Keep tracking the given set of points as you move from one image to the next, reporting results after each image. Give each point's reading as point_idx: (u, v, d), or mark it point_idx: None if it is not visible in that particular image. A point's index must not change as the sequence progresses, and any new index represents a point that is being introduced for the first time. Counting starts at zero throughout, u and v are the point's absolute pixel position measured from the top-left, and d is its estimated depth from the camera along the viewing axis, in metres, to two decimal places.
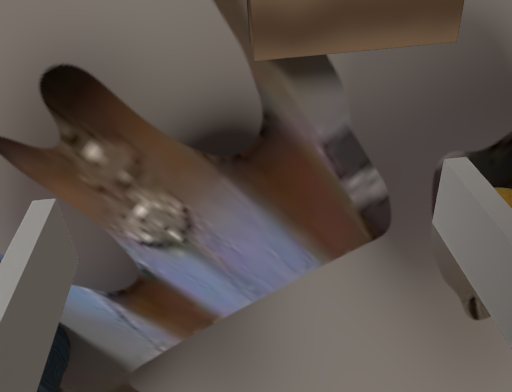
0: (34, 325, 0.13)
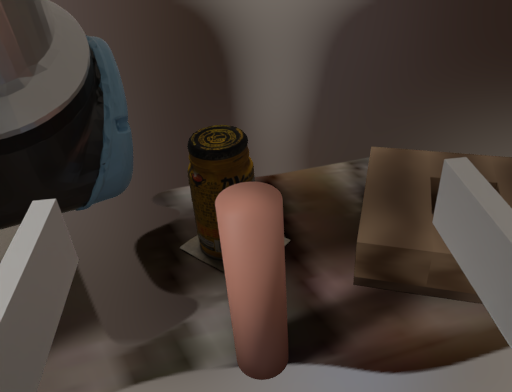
0: (34, 325, 0.13)
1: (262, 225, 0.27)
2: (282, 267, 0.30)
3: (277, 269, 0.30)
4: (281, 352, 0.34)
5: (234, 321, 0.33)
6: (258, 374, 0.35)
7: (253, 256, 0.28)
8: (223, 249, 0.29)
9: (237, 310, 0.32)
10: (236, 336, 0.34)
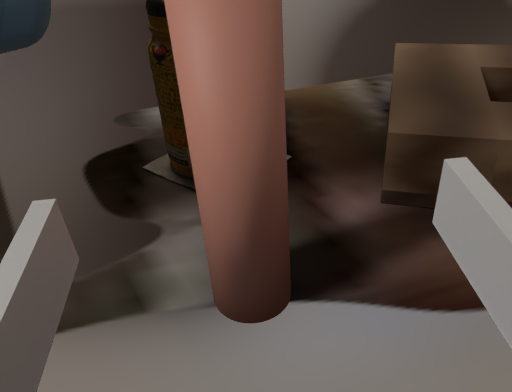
0: (34, 325, 0.13)
1: (244, 8, 0.15)
2: (281, 118, 0.18)
3: (273, 117, 0.17)
4: (280, 278, 0.22)
5: (205, 223, 0.21)
6: (244, 315, 0.23)
7: (229, 77, 0.16)
8: (179, 78, 0.17)
9: (208, 199, 0.19)
10: (209, 251, 0.22)
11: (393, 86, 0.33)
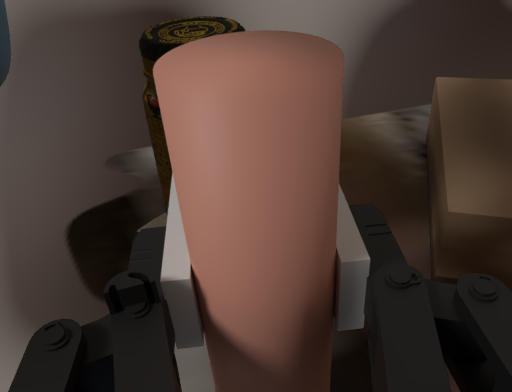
0: None
1: (289, 115, 0.09)
2: (332, 250, 0.12)
3: (322, 255, 0.12)
4: None
5: (216, 375, 0.15)
6: None
7: (261, 214, 0.10)
8: (181, 201, 0.11)
9: (221, 354, 0.13)
10: None
11: (443, 139, 0.27)
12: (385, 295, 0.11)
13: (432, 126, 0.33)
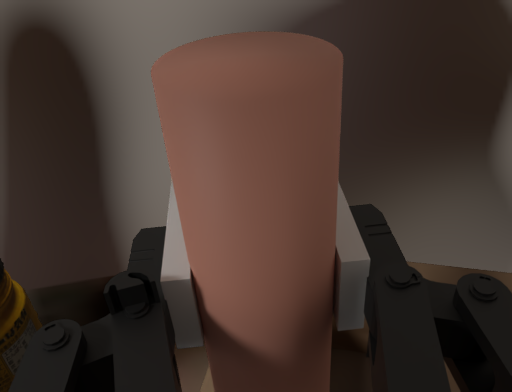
0: None
1: (287, 116, 0.09)
2: (332, 252, 0.12)
3: (322, 257, 0.11)
4: None
5: (215, 377, 0.15)
6: None
7: (260, 216, 0.10)
8: (180, 203, 0.11)
9: (220, 356, 0.13)
10: None
11: None
12: (384, 295, 0.11)
13: None
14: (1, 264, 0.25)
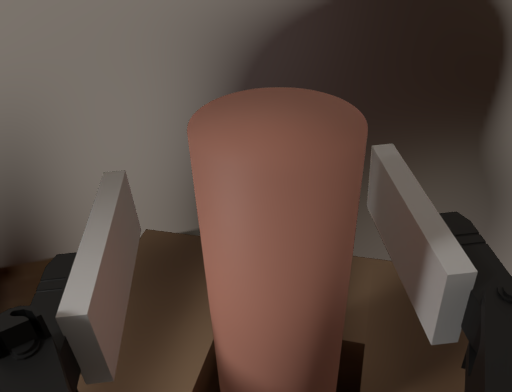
0: (117, 282, 0.14)
1: (318, 186, 0.09)
2: (346, 296, 0.13)
3: (337, 302, 0.12)
4: None
5: None
6: None
7: (285, 270, 0.11)
8: (206, 250, 0.12)
9: (235, 387, 0.14)
10: None
11: None
12: (494, 306, 0.11)
13: None
14: None
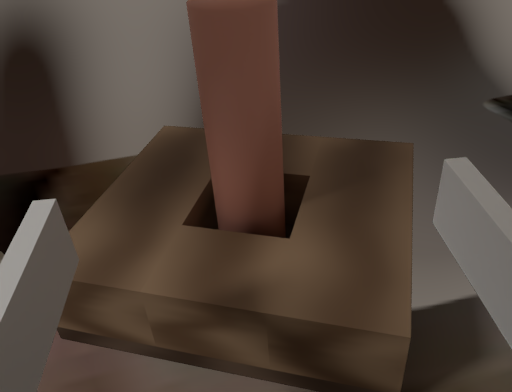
0: (34, 325, 0.13)
1: (248, 20, 0.20)
2: (277, 104, 0.23)
3: (271, 103, 0.22)
4: (276, 236, 0.27)
5: (216, 190, 0.26)
6: None
7: (237, 71, 0.21)
8: (199, 72, 0.22)
9: (219, 169, 0.24)
10: (219, 213, 0.27)
11: (102, 195, 0.29)
12: None
13: None
14: None
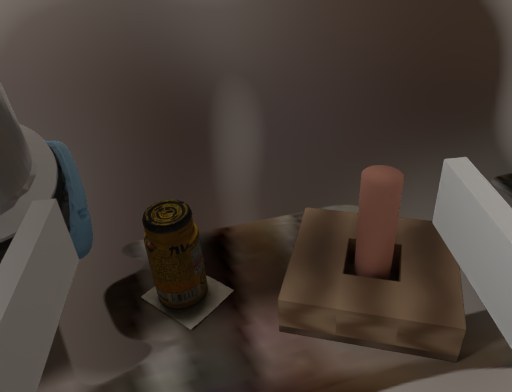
0: (34, 325, 0.13)
1: (394, 190, 0.45)
2: (397, 218, 0.48)
3: (396, 219, 0.48)
4: (387, 278, 0.52)
5: (361, 256, 0.51)
6: None
7: (385, 209, 0.46)
8: (364, 206, 0.47)
9: (366, 247, 0.50)
10: (360, 267, 0.52)
11: (291, 255, 0.54)
12: None
13: None
14: (189, 208, 0.52)
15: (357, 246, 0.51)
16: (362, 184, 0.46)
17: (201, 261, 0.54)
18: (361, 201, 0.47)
